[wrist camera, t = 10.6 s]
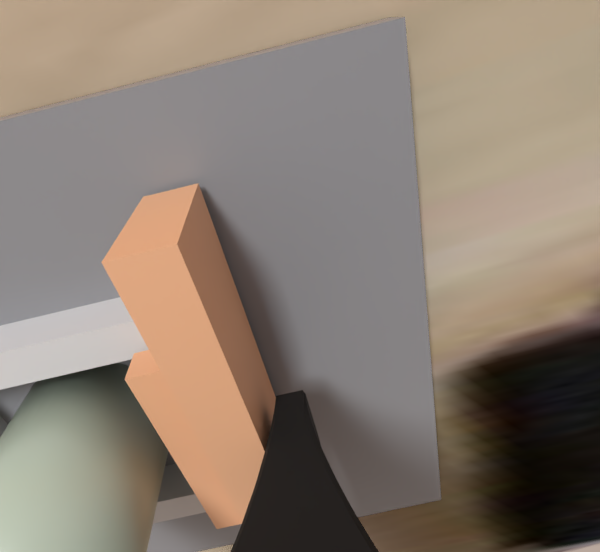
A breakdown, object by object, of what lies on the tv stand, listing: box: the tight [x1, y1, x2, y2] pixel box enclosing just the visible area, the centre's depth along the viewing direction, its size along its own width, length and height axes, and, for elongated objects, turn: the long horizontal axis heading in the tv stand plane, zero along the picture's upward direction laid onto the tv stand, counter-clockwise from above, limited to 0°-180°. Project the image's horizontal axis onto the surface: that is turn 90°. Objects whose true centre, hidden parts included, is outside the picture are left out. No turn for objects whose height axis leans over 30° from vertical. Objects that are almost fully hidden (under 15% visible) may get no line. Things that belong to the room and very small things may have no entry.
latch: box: [101, 183, 276, 529], centre depth 11 cm, size 2×12×3 cm, turn 12°
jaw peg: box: [0, 363, 168, 552], centre depth 10 cm, size 4×4×6 cm
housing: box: [0, 17, 441, 552], centre depth 12 cm, size 15×16×2 cm
